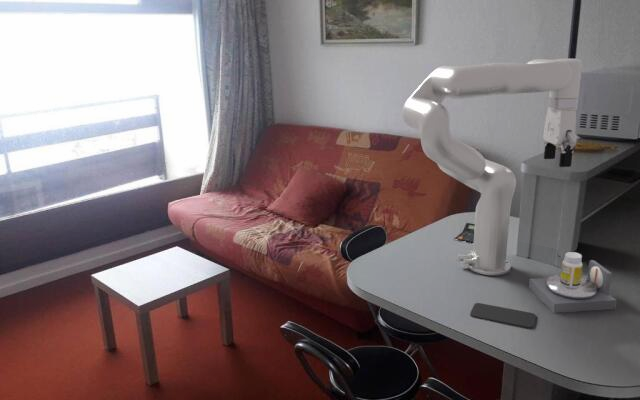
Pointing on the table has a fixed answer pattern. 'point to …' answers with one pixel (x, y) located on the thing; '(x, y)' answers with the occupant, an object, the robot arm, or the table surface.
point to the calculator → (467, 233)
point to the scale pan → (581, 292)
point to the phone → (503, 315)
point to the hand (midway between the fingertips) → (556, 162)
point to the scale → (564, 304)
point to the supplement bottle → (571, 270)
